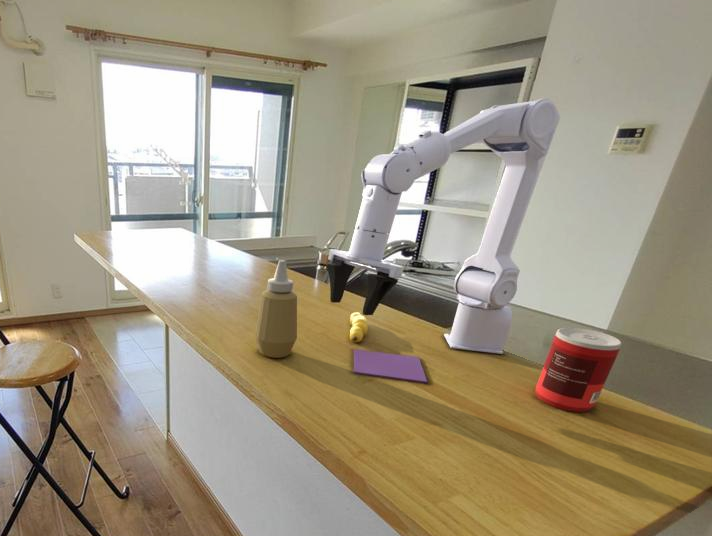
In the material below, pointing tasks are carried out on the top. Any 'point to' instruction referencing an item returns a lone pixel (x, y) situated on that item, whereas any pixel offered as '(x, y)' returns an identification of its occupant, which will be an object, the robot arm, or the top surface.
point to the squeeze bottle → (277, 316)
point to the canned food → (577, 368)
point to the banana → (358, 327)
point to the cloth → (388, 365)
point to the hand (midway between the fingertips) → (350, 308)
